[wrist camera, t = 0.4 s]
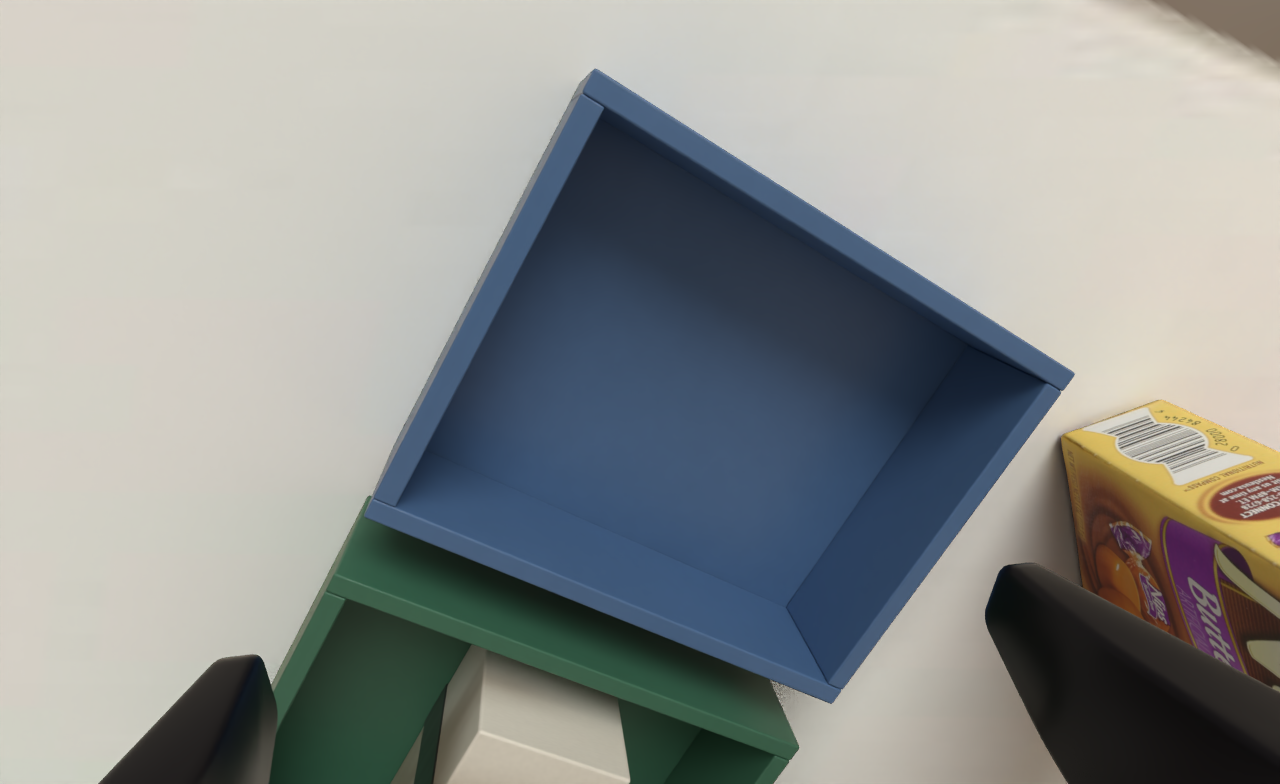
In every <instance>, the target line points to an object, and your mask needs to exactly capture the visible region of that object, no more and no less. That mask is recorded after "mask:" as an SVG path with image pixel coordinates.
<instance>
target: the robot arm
mask: <svg viewBox="0 0 1280 784" xmlns="http://www.w3.org/2000/svg"><path fill="white" fill-rule="evenodd" d="M985 620H986V625H987V628H988V631H989V633H990V635H991V637H992V639H993V641H994V643H995V645H996V647H997V649H998V652H999V654H1000V656H1001V658H1002V660H1003V662H1004V664H1005V666H1006V668H1007V670H1008V672H1009V674H1010V676H1011V678H1012V680H1013V682H1014V684H1015V687H1016V689H1017V691H1018V693H1019V695H1020V697H1021V699H1022V701H1023V703H1024V705H1025V707H1026V709H1027V711H1028V713H1029V715H1030V717H1031V720H1032V722H1033V723H1034V725H1035V727H1036V729H1037V731H1038V733H1039V735H1040V737H1041V739H1042V741H1043V742H1044V744H1045V746H1046V748H1047V749H1048V751H1049V753H1050V755H1051V756H1052V758H1053V760H1054V761H1055V763H1056V765H1057V766H1058V768H1059V770H1060V771H1061V773H1062V775H1063V776H1064V778H1065V780H1066V781H1067V783H1068V784H1280V692H1279V691H1277V690H1275V689H1273V688H1271V687H1269V686H1267V685H1266V684H1264V683H1262V682H1260V681H1258V680H1256V679H1254V678H1252V677H1250V676H1249V675H1247V674H1245V673H1243V672H1241V671H1239V670H1237V669H1235V668H1234V667H1232V666H1230V665H1228V664H1226V663H1224V662H1222V661H1220V660H1218V659H1217V658H1215V657H1213V656H1211V655H1209V654H1207V653H1205V652H1203V651H1201V650H1200V649H1198V648H1196V647H1194V646H1192V645H1190V644H1188V643H1186V642H1184V641H1183V640H1181V639H1179V638H1177V637H1175V636H1173V635H1171V634H1169V633H1167V632H1166V631H1164V630H1162V629H1160V628H1158V627H1156V626H1154V625H1152V624H1151V623H1149V622H1147V621H1145V620H1143V619H1141V618H1139V617H1137V616H1135V615H1134V614H1132V613H1130V612H1128V611H1126V610H1124V609H1122V608H1120V607H1118V606H1117V605H1115V604H1113V603H1111V602H1109V601H1107V600H1105V599H1103V598H1101V597H1100V596H1098V595H1096V594H1094V593H1092V592H1090V591H1088V590H1086V589H1085V588H1083V587H1081V586H1079V585H1077V584H1075V583H1073V582H1071V581H1069V580H1068V579H1066V578H1064V577H1062V576H1060V575H1058V574H1056V573H1054V572H1052V571H1051V570H1049V569H1047V568H1045V567H1043V566H1041V565H1039V564H1036V563H1021V564H1012V565H1007V566H1004V567H1003V568H1002V569H1001V570H1000V571H999V573H998V576H997V579H996V581H995V584H994V587H993V590H992V592H991V595H990V598H989V601H988V604H987V606H986V610H985ZM277 721H278V711H277V704H276V700H275V697H274V693H273V690H272V687H271V684H270V681H269V677H268V674H267V671H266V668H265V665H264V662H263V660H262V659H261V657H260V656H258V655H253V654H252V655H243V656H235V657H226V658H221V659H219V660H217V661H216V662H214V663H213V664H212V665H211V666H210V667H209V668H208V669H207V670H206V671H205V672H204V673H203V674H202V675H201V676H200V677H199V678H198V680H197V681H196V682H195V683H194V684H193V685H192V686H191V687H190V688H189V689H188V690H187V691H186V692H185V693H184V694H183V695H182V696H181V697H180V698H179V699H178V701H177V702H176V703H175V704H174V705H173V706H172V707H171V708H170V709H169V710H168V711H167V712H166V713H165V714H164V715H163V716H162V717H161V718H160V719H159V720H158V722H157V723H156V724H155V725H154V726H153V727H152V728H151V729H150V730H149V731H148V732H147V733H146V734H145V735H144V736H143V737H142V738H141V739H140V740H139V741H138V743H137V744H136V745H135V746H134V747H133V748H132V749H131V750H130V751H129V752H128V753H127V754H126V755H125V756H124V757H123V758H122V759H121V760H120V761H119V762H118V764H117V765H116V766H115V767H114V768H113V769H112V770H111V771H110V772H109V773H108V774H107V775H106V776H105V777H104V778H103V779H102V780H101V781H100V782H99V784H269V779H270V772H271V765H272V758H273V751H274V744H275V737H276V730H277Z"/></svg>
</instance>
